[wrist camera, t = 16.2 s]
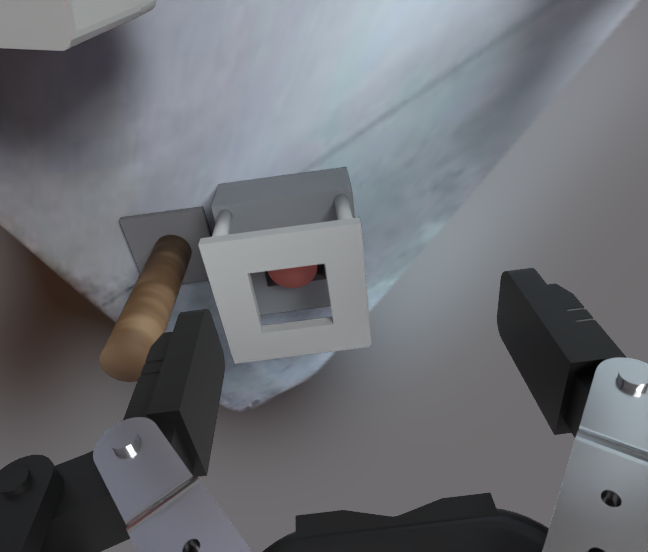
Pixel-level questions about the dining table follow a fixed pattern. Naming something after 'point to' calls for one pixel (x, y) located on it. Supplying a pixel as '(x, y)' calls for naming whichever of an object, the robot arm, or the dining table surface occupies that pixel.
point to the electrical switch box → (63, 21)
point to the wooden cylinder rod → (146, 309)
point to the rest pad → (176, 222)
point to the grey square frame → (288, 264)
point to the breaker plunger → (293, 276)
